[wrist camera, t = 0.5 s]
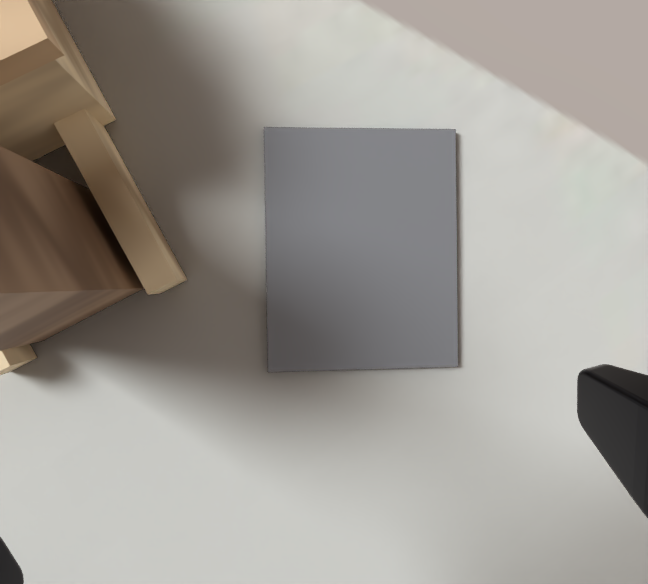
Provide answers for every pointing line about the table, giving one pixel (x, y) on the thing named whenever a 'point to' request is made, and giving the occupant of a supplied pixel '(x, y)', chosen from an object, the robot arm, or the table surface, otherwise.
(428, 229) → the felt mat
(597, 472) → the table surface
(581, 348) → the table surface
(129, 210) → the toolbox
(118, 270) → the walnut block
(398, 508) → the table surface
